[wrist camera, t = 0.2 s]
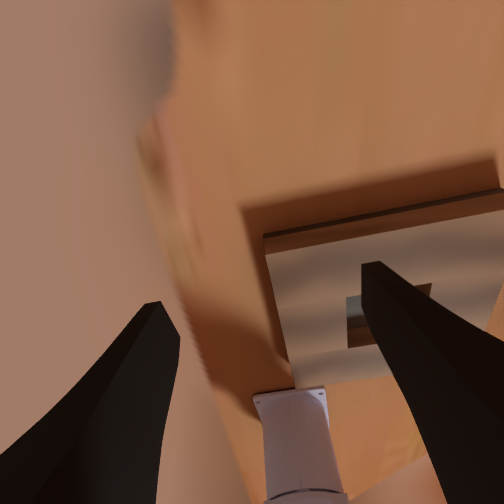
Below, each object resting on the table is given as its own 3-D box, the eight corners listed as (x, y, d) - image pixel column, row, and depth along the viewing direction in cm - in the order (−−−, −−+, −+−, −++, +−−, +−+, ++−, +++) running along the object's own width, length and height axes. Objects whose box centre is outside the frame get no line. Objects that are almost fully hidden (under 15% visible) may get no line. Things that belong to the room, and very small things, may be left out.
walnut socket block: (455, 340, 28) (472, 363, 26) (291, 365, 29) (295, 389, 27) (501, 187, 19) (532, 204, 17) (262, 234, 20) (265, 254, 18)
